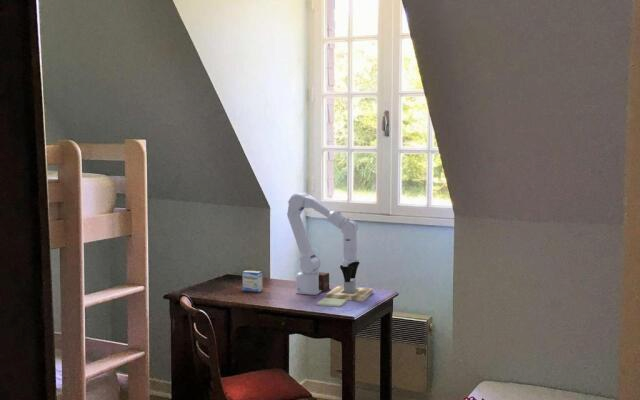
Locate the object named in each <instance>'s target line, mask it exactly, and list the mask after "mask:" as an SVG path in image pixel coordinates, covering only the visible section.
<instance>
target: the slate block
mask: <svg viewBox="0 0 640 400" xmlns="http://www.w3.org/2000/svg"><path fill="white" fill-rule="evenodd" d="M343 286H344V293H347V294H354V293H355V292H356V287H357V286H356V278H355V279H351V280H350V282H345V280H344V279H343Z"/></svg>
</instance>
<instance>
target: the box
mask: <svg viewBox="0 0 640 400" xmlns="http://www.w3.org/2000/svg"><path fill="white" fill-rule="evenodd" d="M329 289H330V272H324V271H323V272H322V271H319V290H322V291H321V292H325V291H328V290H329Z"/></svg>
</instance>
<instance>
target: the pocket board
mask: <svg viewBox="0 0 640 400" xmlns="http://www.w3.org/2000/svg"><path fill="white" fill-rule="evenodd" d="M373 291H374V290H373V288H370V287H369V288H368V287H357V286H356V292H355V293H354V294H347V293H344V285H342V286H341V285H338V286H336V287H334V288H332V289H331V290H330V291H328V292H327V293H326V294H325V295H326V297H325V298H335V299H348V301H352V302H353V301H354V302H364V301H365V300H367V298H369V297H370V296H372V294H374V293H373Z"/></svg>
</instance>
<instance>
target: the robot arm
mask: <svg viewBox="0 0 640 400" xmlns="http://www.w3.org/2000/svg"><path fill="white" fill-rule="evenodd" d="M287 204H288V207H287V213H286V214H287V219H288V222H289V225H290V228H291V230H292V233H293V236H294V238H295V241H296V245H297V247H298V251H299V253H300V254H299V262H300V264H299V267H300V270H301V271H299V272H298V273H297V274H296V279H295V280H296V283H295V284H296V285H295V286H296V291H295V294H299V295H311V296H312V295H313V296H317V295H318V294H319V293H321V292H323V291H322V290H319V272H320V271H319V268H320V267H321V260H320V258H319V257H318V256H317V255H316V252H315V251H314V250H313V249H312V246H311V243H310V240H309V237H308V234H307V232H306V229H305V226H304V223H303V219H302V217H301V215H302V213H303V211H304V210H305V209H310V208H311V209H313V210H315V211H316V212H317V213H319V214H321V215H323V216H325V217H326V218H327V221H328V222H329V223H331V224H332V225H333V226H335V227H336V228H337V229H339V230H341V233H342V235H343V237H342V238H343V239H342V241H343V243H342V249H343V250H342V256H343V257H342V264H341V265H340V266H339V268H340V270H341V272H342V275H343V281H344V280H345V282H350V280H351V279H356V276H357V271H358V268H359V265H360V264H361V263H360V259H359V258H358V255H357V254H358V253H357V252H358V251H357V249H358V248H357V244H358V242H357V231H358V229H359V225H358V223H357V222H356V221H355V220H354V219H350V217H346V216H345V215H343V214H342V212H341V211H340V210H335V209H334V210H331V209H329V208H328V207H327V206H326V205H324V204H323V203H321V202H320V201H319V200H318V199H316V198H315V197H314V196H312V195H310V194H309V193H307V192H305V191H301V192H299V193H294V194H292V195H291V196H290V198H289V200H288V201H287Z"/></svg>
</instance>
